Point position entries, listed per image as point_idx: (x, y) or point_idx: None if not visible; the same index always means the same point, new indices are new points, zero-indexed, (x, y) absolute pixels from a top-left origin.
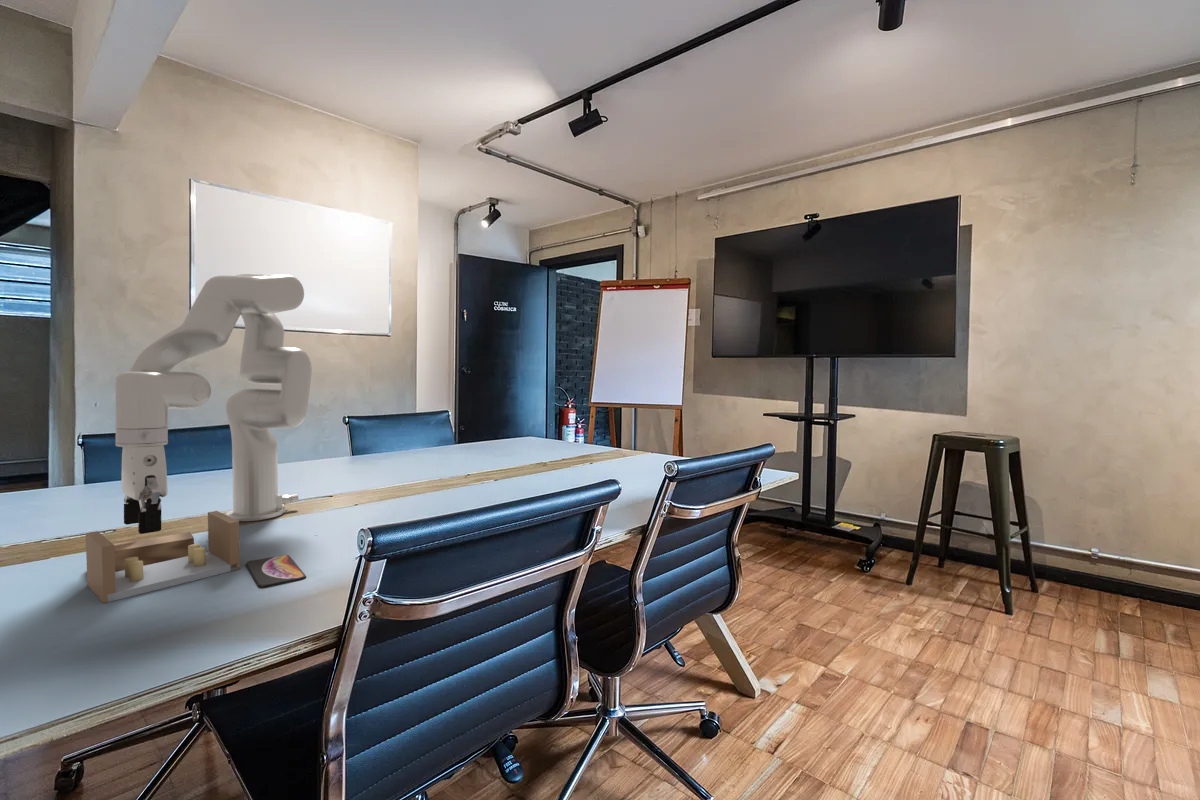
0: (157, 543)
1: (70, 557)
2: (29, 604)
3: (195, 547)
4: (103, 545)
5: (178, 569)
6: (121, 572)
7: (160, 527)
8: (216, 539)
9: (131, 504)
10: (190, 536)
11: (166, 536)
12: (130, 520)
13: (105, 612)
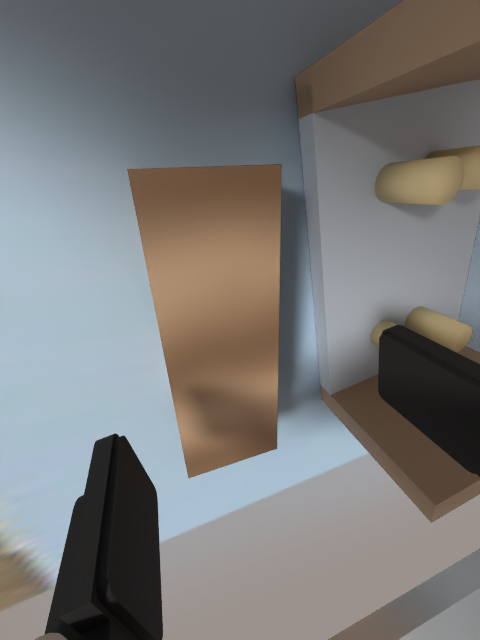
0: (270, 312)
1: (33, 513)
2: (354, 444)
3: (458, 177)
4: None
5: (422, 232)
6: (341, 358)
7: (406, 331)
8: (476, 67)
9: (146, 630)
10: (239, 178)
11: (167, 289)
12: (150, 496)
13: (473, 337)
